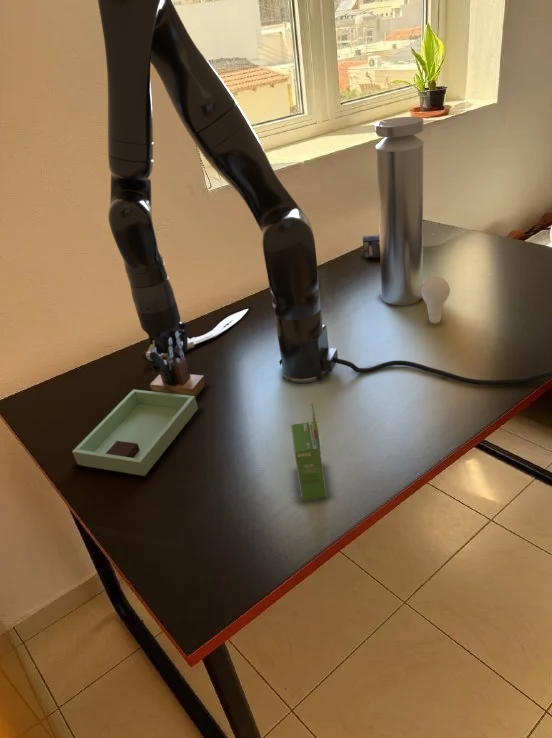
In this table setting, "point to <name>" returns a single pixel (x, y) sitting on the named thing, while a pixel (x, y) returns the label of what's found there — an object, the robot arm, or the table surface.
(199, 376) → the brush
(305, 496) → the ink box
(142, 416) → the tray
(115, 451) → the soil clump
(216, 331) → the knife
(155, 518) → the table surface
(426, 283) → the lightbulb
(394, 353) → the table surface
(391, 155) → the silver metal canister
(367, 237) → the mini dv tape
